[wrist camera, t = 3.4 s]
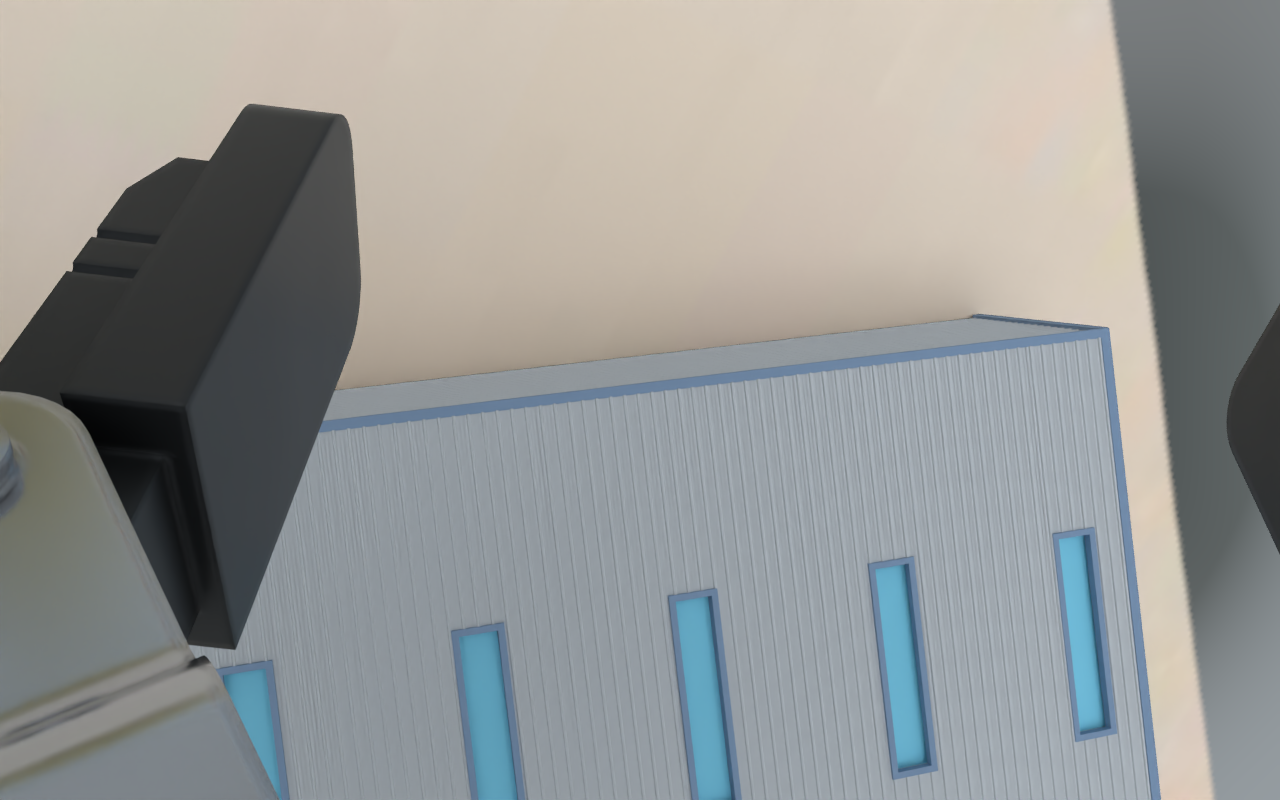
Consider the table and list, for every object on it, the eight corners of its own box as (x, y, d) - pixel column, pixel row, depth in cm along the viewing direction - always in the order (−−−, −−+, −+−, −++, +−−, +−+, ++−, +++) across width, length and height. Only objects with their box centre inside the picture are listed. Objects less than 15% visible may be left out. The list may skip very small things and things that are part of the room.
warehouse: (979, 314, 32) (1166, 333, 25) (1001, 808, 34) (1179, 962, 27) (-284, 456, 25) (-542, 541, 18) (-158, 1061, 27) (-344, 1357, 20)
